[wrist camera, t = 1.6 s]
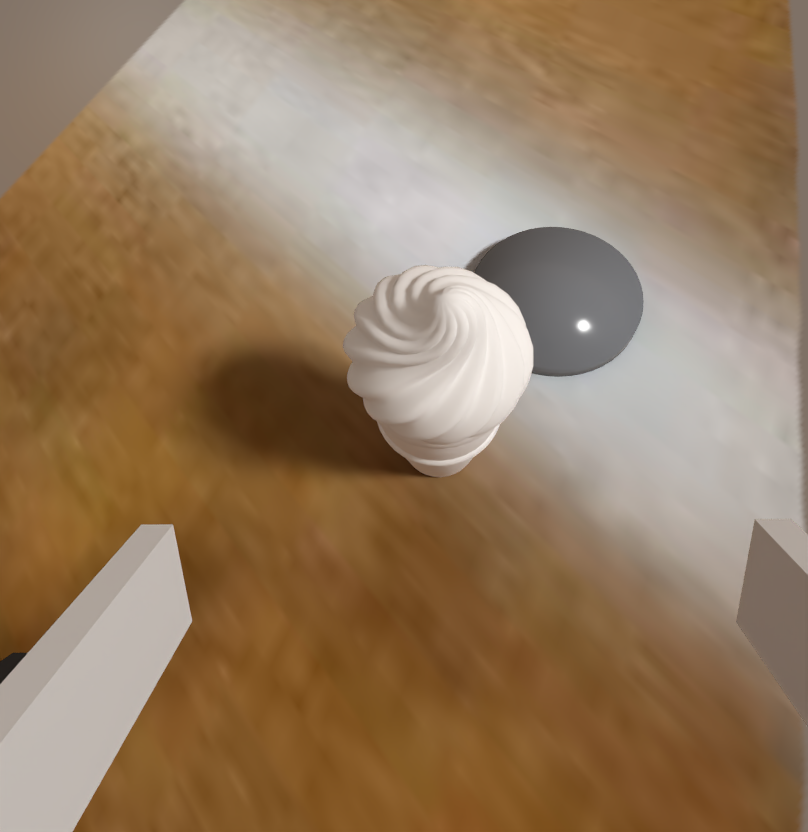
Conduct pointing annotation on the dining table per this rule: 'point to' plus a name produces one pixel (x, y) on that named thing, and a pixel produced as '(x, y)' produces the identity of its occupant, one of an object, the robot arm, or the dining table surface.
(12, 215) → the dining table surface
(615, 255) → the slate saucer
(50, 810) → the robot arm
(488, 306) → the soft serve ice cream cone
